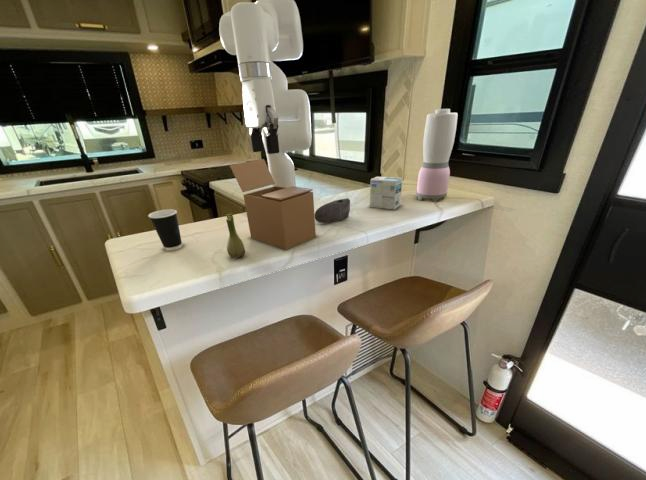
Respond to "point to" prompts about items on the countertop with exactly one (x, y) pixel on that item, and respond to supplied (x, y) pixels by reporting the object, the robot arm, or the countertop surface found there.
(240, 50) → the robot arm
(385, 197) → the light bulb box
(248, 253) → the countertop surface
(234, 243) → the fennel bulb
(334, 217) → the perforated stone tool
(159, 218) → the dixie cup
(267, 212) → the carton
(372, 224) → the countertop surface
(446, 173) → the blender
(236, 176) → the flap
